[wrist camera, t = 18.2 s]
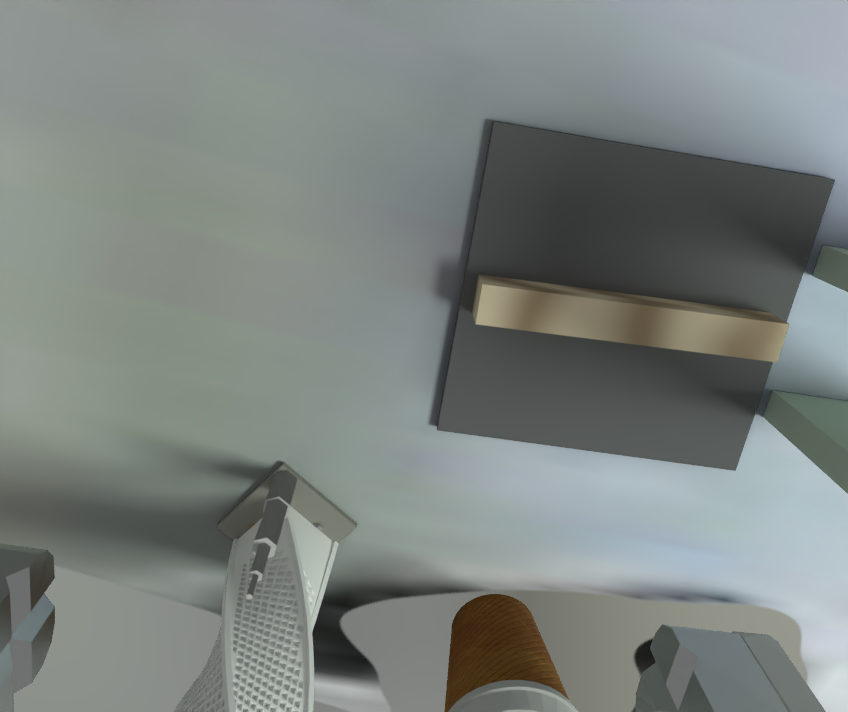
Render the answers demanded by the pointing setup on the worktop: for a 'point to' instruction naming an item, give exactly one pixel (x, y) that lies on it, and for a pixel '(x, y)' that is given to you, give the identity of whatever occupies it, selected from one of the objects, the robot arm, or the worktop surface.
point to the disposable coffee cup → (501, 661)
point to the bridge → (817, 398)
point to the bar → (628, 318)
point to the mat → (624, 273)
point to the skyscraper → (271, 599)
